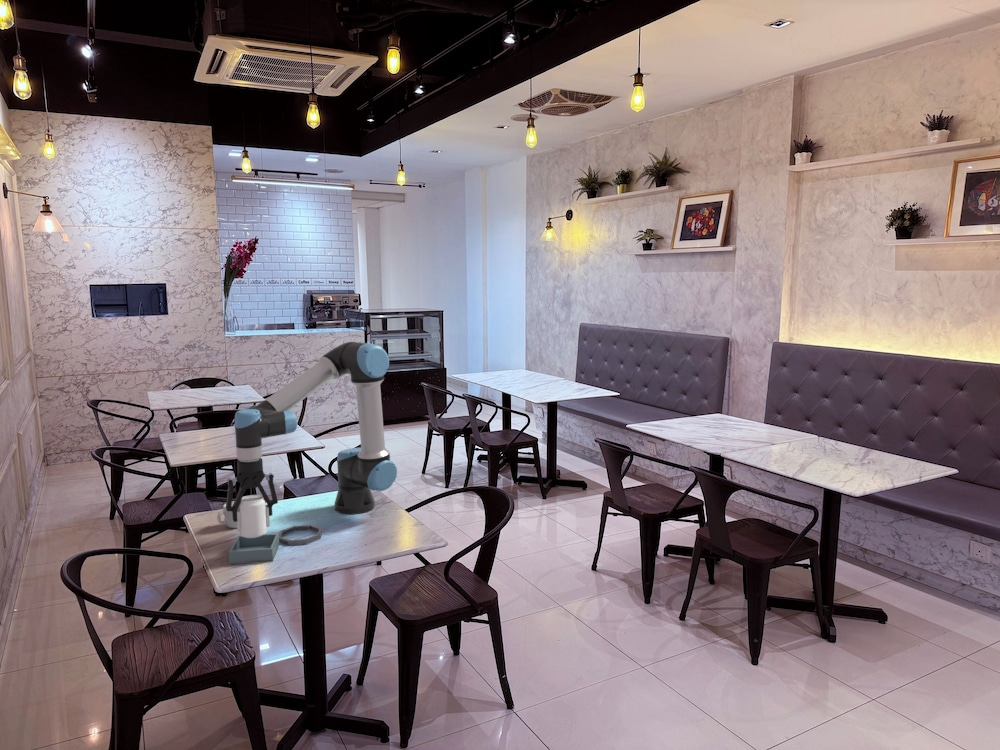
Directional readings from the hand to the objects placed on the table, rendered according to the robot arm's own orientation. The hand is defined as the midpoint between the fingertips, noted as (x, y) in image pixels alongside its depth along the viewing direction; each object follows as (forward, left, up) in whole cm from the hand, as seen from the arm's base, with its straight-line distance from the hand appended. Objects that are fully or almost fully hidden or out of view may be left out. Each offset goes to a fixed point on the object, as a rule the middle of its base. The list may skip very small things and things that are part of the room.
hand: (253, 528), depth 213 cm
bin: (0, 0, -9) cm, 9 cm away
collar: (-13, -13, -9) cm, 20 cm away
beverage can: (0, 0, -2) cm, 2 cm away
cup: (+12, -27, -9) cm, 31 cm away
